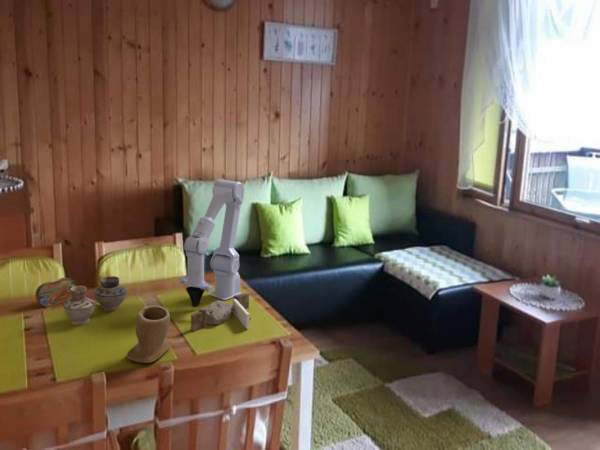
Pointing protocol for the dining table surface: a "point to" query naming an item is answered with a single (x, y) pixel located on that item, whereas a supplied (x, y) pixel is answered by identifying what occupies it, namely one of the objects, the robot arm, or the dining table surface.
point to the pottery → (105, 295)
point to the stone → (218, 312)
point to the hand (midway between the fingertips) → (195, 306)
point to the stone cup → (151, 334)
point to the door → (241, 313)
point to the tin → (55, 291)
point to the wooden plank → (200, 317)
